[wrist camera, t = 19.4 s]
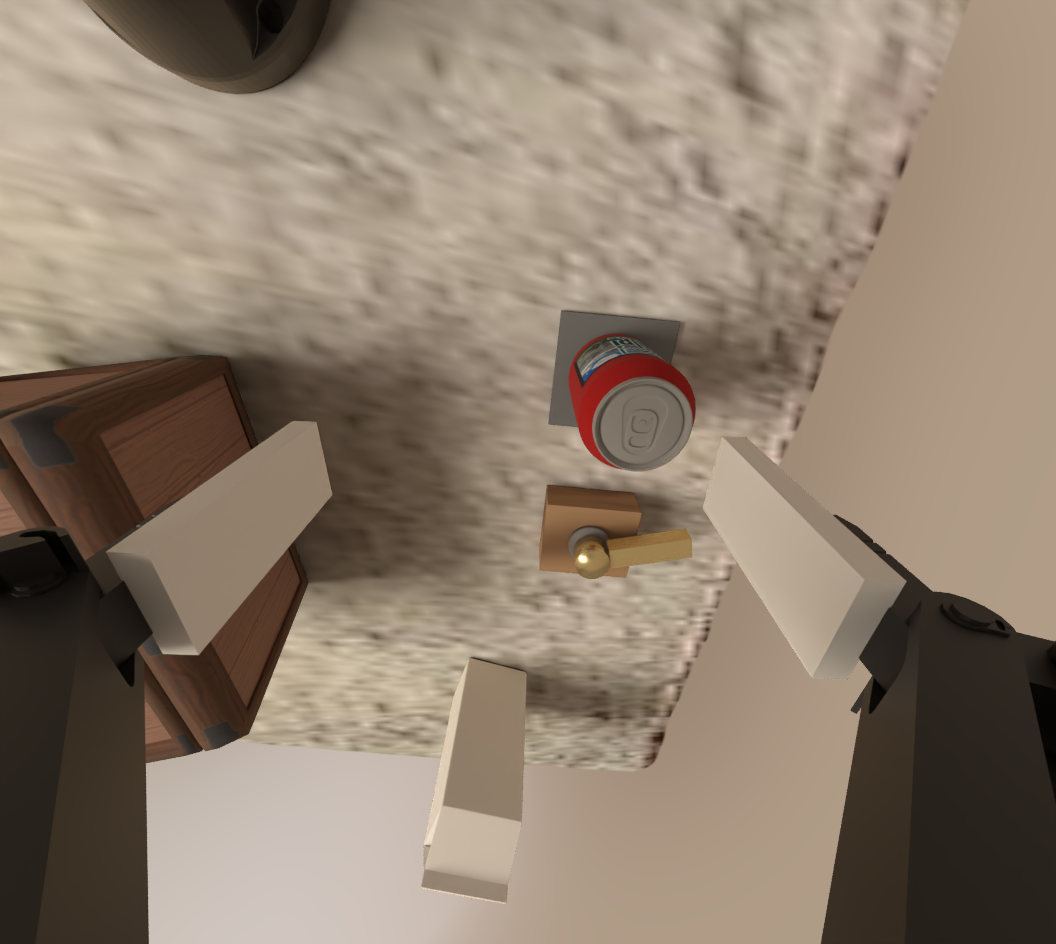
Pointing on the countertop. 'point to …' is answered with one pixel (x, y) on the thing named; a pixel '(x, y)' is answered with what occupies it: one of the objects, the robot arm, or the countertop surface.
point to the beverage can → (630, 403)
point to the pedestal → (584, 524)
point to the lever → (629, 551)
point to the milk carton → (479, 786)
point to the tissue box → (148, 515)
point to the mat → (588, 327)
